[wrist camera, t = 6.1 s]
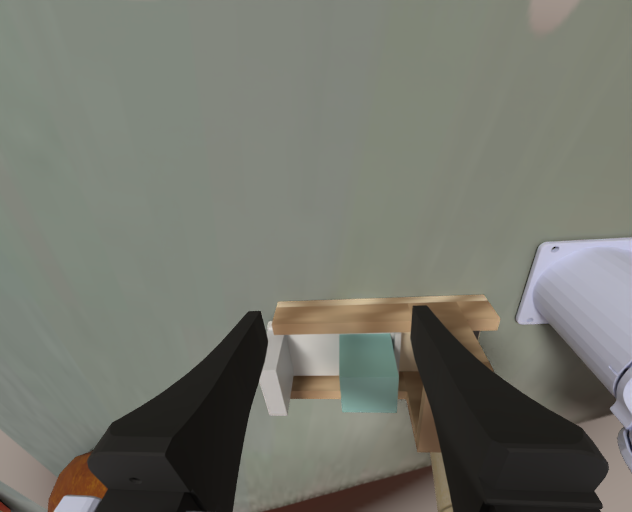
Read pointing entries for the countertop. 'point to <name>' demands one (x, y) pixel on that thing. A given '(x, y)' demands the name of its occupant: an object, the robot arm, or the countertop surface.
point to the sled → (301, 363)
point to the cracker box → (4, 508)
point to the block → (368, 373)
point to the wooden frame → (387, 317)
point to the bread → (76, 482)
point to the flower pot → (441, 483)
